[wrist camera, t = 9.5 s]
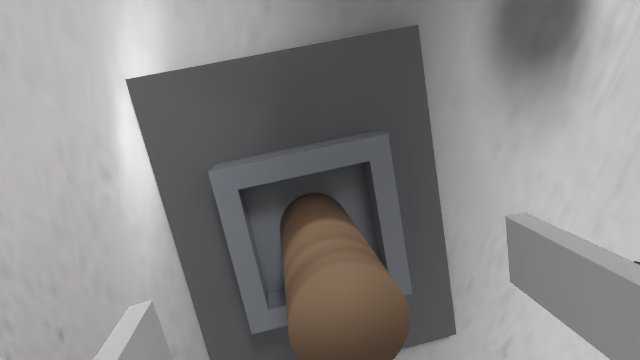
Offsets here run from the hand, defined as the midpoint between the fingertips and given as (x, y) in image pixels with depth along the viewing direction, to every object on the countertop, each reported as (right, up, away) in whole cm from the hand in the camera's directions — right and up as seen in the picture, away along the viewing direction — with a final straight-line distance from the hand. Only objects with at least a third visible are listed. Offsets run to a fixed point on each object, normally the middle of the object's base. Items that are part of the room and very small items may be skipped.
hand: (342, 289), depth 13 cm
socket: (-1, +1, +9) cm, 9 cm away
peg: (-1, +1, +8) cm, 8 cm away
